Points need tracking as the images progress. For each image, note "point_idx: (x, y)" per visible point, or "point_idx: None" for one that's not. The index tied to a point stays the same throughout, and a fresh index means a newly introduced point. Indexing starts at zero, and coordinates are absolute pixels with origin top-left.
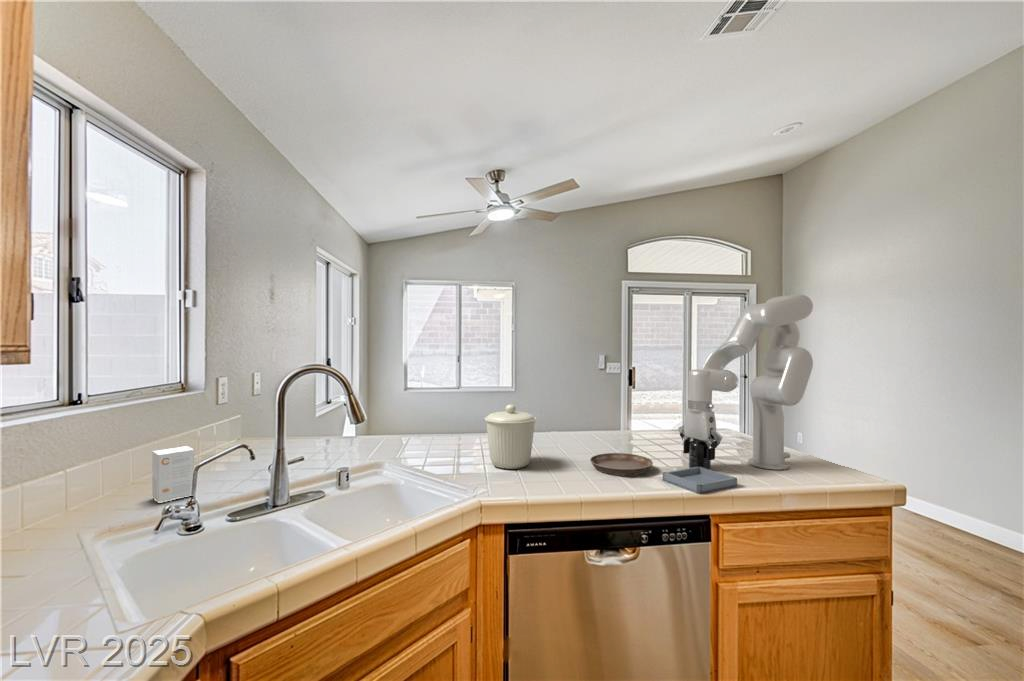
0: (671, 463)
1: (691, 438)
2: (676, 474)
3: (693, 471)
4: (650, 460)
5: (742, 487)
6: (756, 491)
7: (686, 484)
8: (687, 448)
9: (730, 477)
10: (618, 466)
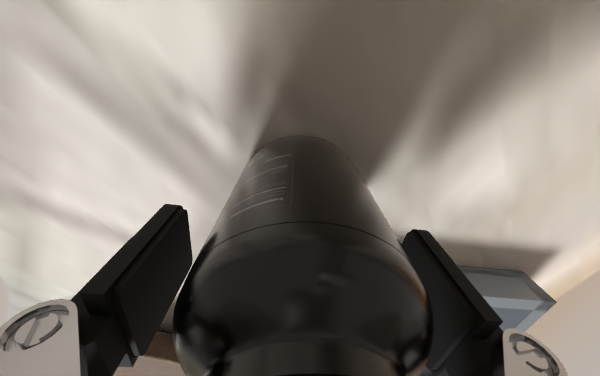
0: (139, 211)
1: (83, 365)
2: None
3: None
4: (177, 363)
5: (543, 267)
6: (596, 268)
7: None
8: (171, 277)
9: (525, 307)
10: (137, 373)
